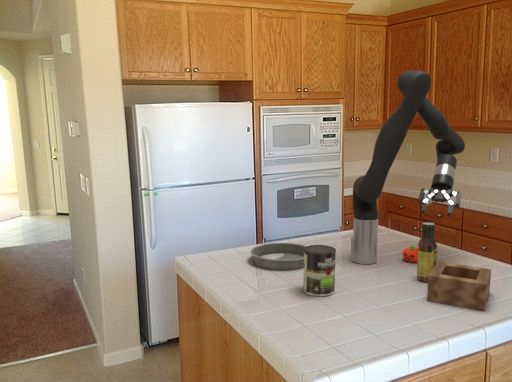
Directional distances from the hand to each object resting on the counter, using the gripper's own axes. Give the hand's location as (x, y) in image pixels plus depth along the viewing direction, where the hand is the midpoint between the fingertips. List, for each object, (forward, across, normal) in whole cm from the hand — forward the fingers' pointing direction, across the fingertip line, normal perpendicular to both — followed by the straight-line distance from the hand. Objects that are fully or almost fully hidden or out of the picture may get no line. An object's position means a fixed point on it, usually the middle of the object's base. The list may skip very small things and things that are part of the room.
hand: (436, 214), depth 170 cm
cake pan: (+28, -53, +2) cm, 60 cm away
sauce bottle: (+24, 0, +6) cm, 24 cm away
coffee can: (+44, -28, -14) cm, 54 cm away
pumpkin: (+10, -9, +20) cm, 24 cm away
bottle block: (+32, +12, -2) cm, 34 cm away
